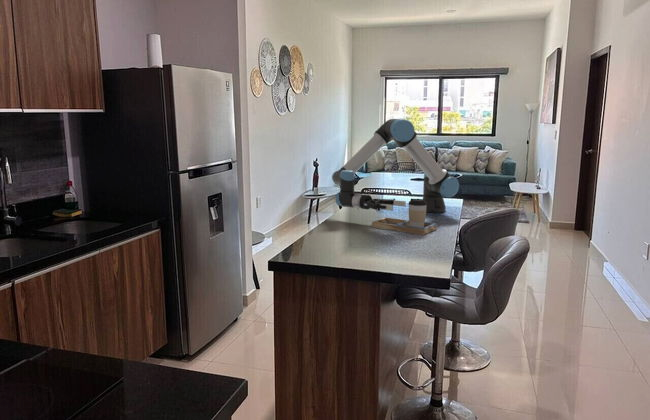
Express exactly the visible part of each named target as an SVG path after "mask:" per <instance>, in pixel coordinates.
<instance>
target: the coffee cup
mask: <svg viewBox="0 0 650 420" xmlns="http://www.w3.org/2000/svg"><path fill="white" fill-rule="evenodd" d="M407 205H408V220H409V226H410V227H417V228H424V222H426V215H427V212H426V206H427V202H425V200H424V199H423V198H411V199H410V200H409V201H408V204H407Z"/></svg>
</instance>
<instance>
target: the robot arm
mask: <svg viewBox="0 0 650 420" xmlns="http://www.w3.org/2000/svg"><path fill="white" fill-rule="evenodd" d="M414 126H415V125H414V124H413V123H412V122H411V121H410V120H408V119H405V118H390V119H387V120H386V121H385V122H383V123H382V124H381V125H380V126H379V128H378V129H376V130H375V131H374V133H373V136H372V137H371V138H370V139H369V140H368V141H367V142H366V143H365V144H364V145H363V146H362V147H361V148H360V149H359V150H358V151H357V152H355V154H354V155H352V157H351V158H350V159H349V160H348V161H347V162H346V163H345V164H344V165H342V167H341V168H340V169H338V170H336V171H334V172H333V173H332V175H331V180H332V182H333V183H334V184H336V185H337V186H339V191H338V192H337V193H336V195H335V199H334V201H335V203H336V205H337V206H340V207H344V208H353V209H356V210H359V209H361V210H371V209H372V210H375V211H376V210H377V211H378V212H379V211H382V210H384V211H390V212H391V211H394V206H396V207H404V208H405V207H406V205H407V204H406V203H407V201H406V200H396V198H393V199H392V198H391V199H390V198H372V196H371V195H369V194H362V193H355V179H356V177H355V175H356V173H357V172H358V171H359V170H360V169H361V168H362V167H363V166H364V165H365V164H366V163H367V162H368V161H369V160H370V159H371V158H372V157H373V156H374V155H375V154H377V152H378V151H379V150H380V149H382V147H383V146H387V145H388V144H389V143H391V142H392V141H394V143H395V144H396V145H397V147H399V148H400V149H404V150H405V151H406V153H407V154H408V155H409V156H410V157H411V158H412V160H413V161H414V162H415V164H416V165H417V166H418V167H419V168H420V169H421V171H422V172H423V173H424V175H423V191H422V193H423V195H422V199H424V200H425V202H427V206H426V213H431V214H432V213H435V214H437V213H440V214H441V213H444V212H446V208H447V207H446V204H445V200H444V199H445V198H453V197H454V196H455V195H456V194H457V193H458V192H459V189H460V183H459V181H458V178H456V177H454V176H452V175H451V174H450V173H449V171H447V170H446V168H442V167H441V166H440V165H439V164H438V163H437V162H436V160H435V159H434V158H433V157H432V155H431V154H430V153H429V152H428V150H427V149H426V148H425V147H424V145H423V144H422V143H421V142H420V141H419V139H418V138H417V137H418V136H417V135H418V134H417V132H416V131H415V129H416V128H415V127H414Z"/></svg>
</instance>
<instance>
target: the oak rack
mask: <svg viewBox="0 0 650 420" xmlns="http://www.w3.org/2000/svg"><path fill="white" fill-rule="evenodd" d="M437 225H438V224H437V223H435V222H427V221H425V222H424V228H417V227H410V226H409V219H401V218H393V217H388V216H387V217H384V218H380V219H377V220H374V221H371V228H377V229H383V230H389V231H395V230H396V232H404V233H408V234H409V233H410V234H416V235H423V236H424V235H426V234H428V233H429V234H430V232H433V231H436V230H437V227H438V226H437Z"/></svg>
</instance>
